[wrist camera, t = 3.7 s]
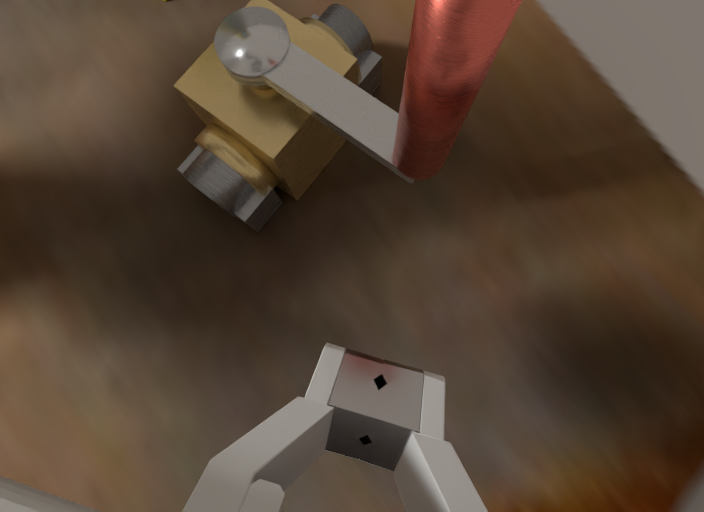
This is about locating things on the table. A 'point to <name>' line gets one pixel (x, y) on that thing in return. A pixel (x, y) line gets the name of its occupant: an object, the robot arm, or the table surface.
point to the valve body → (270, 119)
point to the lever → (360, 107)
